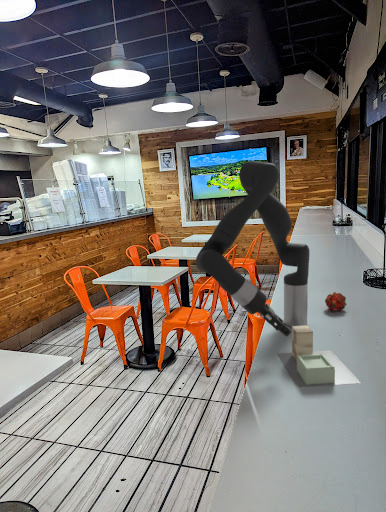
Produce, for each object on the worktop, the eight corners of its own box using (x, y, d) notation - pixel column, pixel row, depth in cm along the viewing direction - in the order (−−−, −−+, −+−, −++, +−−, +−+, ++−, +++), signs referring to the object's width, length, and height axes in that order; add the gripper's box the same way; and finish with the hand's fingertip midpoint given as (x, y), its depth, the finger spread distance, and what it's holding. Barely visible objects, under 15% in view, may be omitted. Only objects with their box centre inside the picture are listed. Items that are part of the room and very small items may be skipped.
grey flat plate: (277, 356, 114) (277, 353, 114) (330, 352, 114) (330, 350, 114) (296, 390, 94) (296, 387, 94) (361, 386, 94) (361, 383, 94)
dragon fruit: (341, 309, 158) (333, 321, 149) (325, 297, 161) (317, 308, 152) (352, 297, 153) (345, 308, 144) (336, 285, 156) (328, 295, 147)
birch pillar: (291, 354, 112) (291, 326, 110) (306, 353, 112) (307, 325, 110) (296, 362, 107) (297, 332, 105) (312, 361, 107) (313, 331, 106)
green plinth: (296, 369, 103) (296, 355, 102) (323, 368, 103) (323, 353, 102) (306, 384, 95) (306, 368, 94) (334, 382, 95) (335, 366, 94)
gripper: (261, 293, 98) (300, 329, 100) (251, 281, 112) (286, 312, 114) (243, 312, 99) (282, 346, 101) (236, 297, 113) (271, 328, 115)
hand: (284, 328), depth 108 cm, fingers open, 8 cm apart
